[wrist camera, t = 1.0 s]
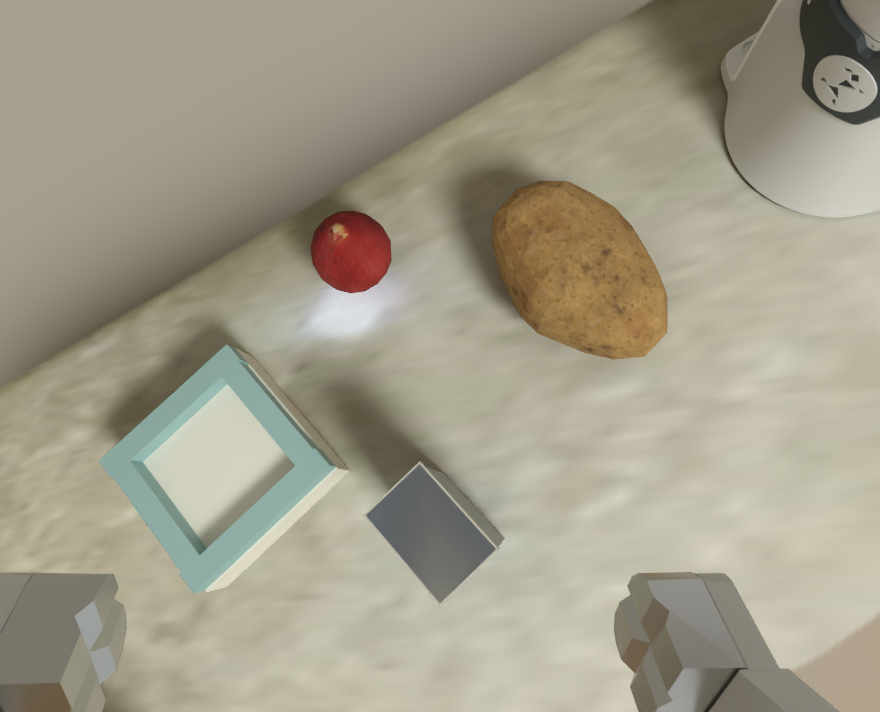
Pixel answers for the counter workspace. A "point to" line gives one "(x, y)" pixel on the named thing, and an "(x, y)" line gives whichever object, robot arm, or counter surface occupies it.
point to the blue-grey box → (434, 530)
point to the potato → (579, 271)
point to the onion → (351, 251)
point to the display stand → (223, 469)
